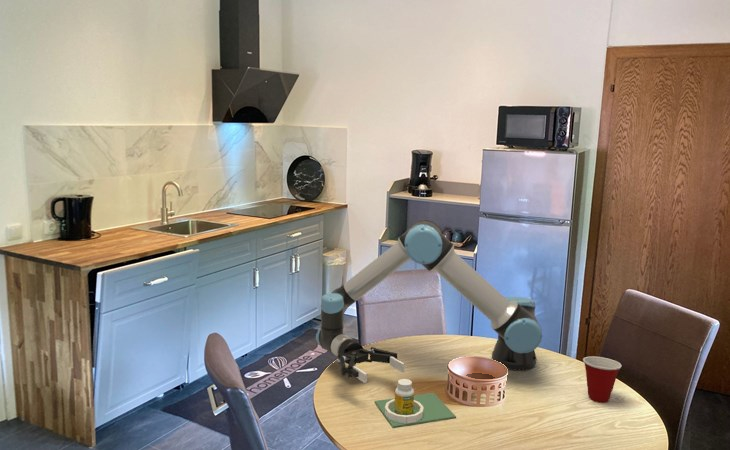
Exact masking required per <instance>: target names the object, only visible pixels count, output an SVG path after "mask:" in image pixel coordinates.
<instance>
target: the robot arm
mask: <svg viewBox="0 0 730 450" xmlns="http://www.w3.org/2000/svg"><path fill="white" fill-rule="evenodd" d="M410 261H413V262H414V263H417V264H419V265H422V266H423V267H424V268H425V269H426V270H427V271H428V272H437V273H438V274H439V275H440V276H441V278H443V279H444V280H445V281H446V282H448V283H449V285H451V286H452V287H453V288H454V289H455V290H456V291H457V292H459V293H460V294H461V295H462V297H464V298H465V299H466V300H467V301H468V302H470V303H471V304H472V305H473V306H474V307H475V308H476V309H477V310H479V312H480V313H482V315H484V316H485V317H486V318H487V319H488V320H489V321H490V325H491V329H492V330H493V331H495V332H496V334H497V339H496V342H495V345H494V347H493V350H492V352H491V360H492V359H493V360H496V361H498V362H501V363H502V364H504V365H505V366H506V367H507V368H508V369H507V370H510V371H529V370H532V369H534V368H535V367H537V354H536V351H535V350H536V349H538V348H539V346H540V345H541V343H542V341H543V340H542V339H543V331H542V330H543V329H542V326H541V325H540V323H539V322H538V319H537V317H536V314H535V312H536V311H535V310H536V302H535V300H533V299H532V298H530V297H529V298H528V297H521V296H504V295H503V294H502V293H501V292H499V290H497V289H496V288H495V287H494V286H493V285H492V284H491V283H490V282H488V281H487V280H486V279H485V278H484V277H483V276H482V275H480V274H479V273H478V271H476V270H475V269H474V268H473V267H472V266H471V265H470V264H469V263H467V262H466V260H464V259H463V258H462V257H461V256H459V255H458V253H457V252H455V245H454V243H452V242H451V241H450V240H449V239H448V238H447V237H446V236H445V235H444V234H443V232H442V229H441V228H440V226H439V224H437V223H436V222H434V221H433V220H430V219H419V220H418V221H415V222H414V223H413V224H411V225H410V227H409V228H408V229H406V231H405V232H404V233H402V234H401V235H400V236H399V237H398V239H397V242H396V243H394V244H393V245H392V246H391V247H389V248H388V249H386V250H385V251H384V252H382V253H381V254H380V255H379V256H378V257H377V258H375V259H373V261H372V262H370V263H369V264H368V265H366V266H365V267H364V268H362V269H361V270H360V271H358V273H356V274H355V275H354V276H352V277H351V278H350V279H348V280H346V281H345V283H343V284H342V285H341V286H339V287H337V288H335V289H334V290H332V291H331V292H330V293H326V294H323V295H322V296H321V302H320V316H321V317H320V319H321V321H320V322H321V325H320V327H319V328H318V329H317V331H316V334H315V340H316V343H317V344H318V345H319V346H320V347H321V348H322V349H324V350H326V351H328V352H329V353H331V354H332V355H334V357H337V358H336V359H337V362H336V363H337V364H338V365H339V369H340V372H341V373H340V374H341V375H342V376H346V375H347V377H348V378H356V379H358V380H359V381H360V382H362V383H363V384H366V383H368V373H366V372H365V371H363V370H362V369H360V368H359V367H357V366H356V365H357V364H361V363H370V364H371V363H372V362H376V363H382V364H384V363H385V364H389V366H390V367H391V368H394V369H396V370H398V371H400V372H401V373H405V366H406V365H405V363H404V362H402V361H401V360H400V359H399V358H398V353H396V352H392V351H388V350H383V349H379V348H376V347H374V346H371V347H370V349H364V348H363V346H362V344H361V343H360V342H358V341H356V340H354V339H353V338H352V337H350V336H349V335H346V334H345V333H344V316H345V315H344V314H345V313H346V311H347V309H348V308H349V307H351V305H353V304H355V303H356V302H357V301H358V300H360V299H361V298H362V297H363V296H365V295H366V294H368V293H369V292H370V291H371V290H373V289H374V288H375V287H376V286H378V285H379V284H381V283H382V282H383V281H384V280H386V279H387V278H389V276H391V275H392V274H394V273H395V272H396V271H397V270H399V269H400V268H401V267H403V266H404V265H406V264H407V263H408V262H410ZM346 364H347V367H346Z"/></svg>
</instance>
